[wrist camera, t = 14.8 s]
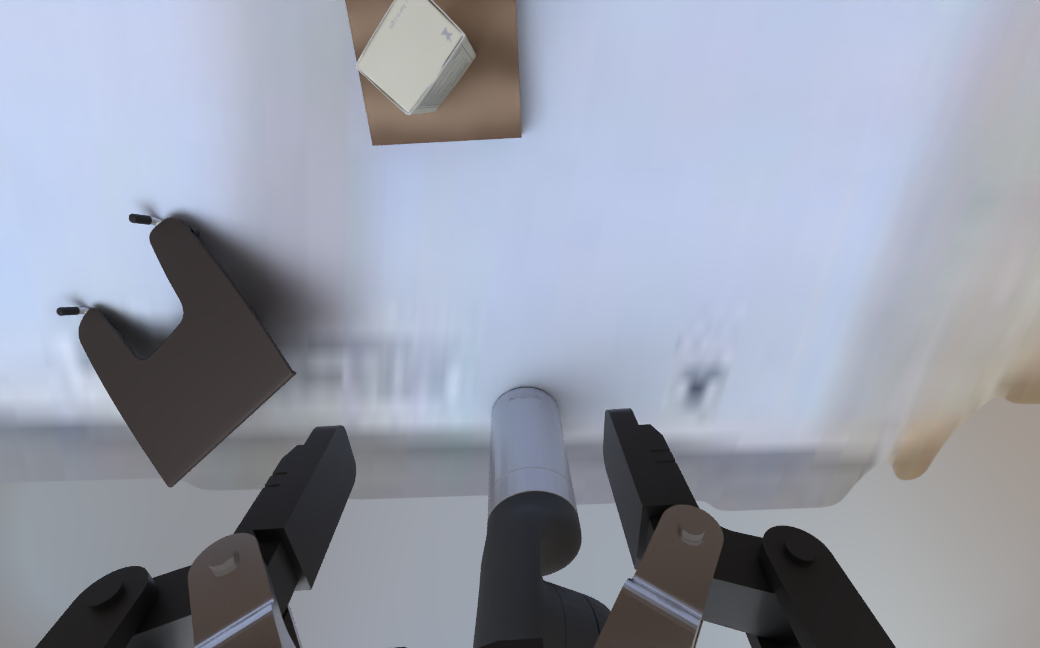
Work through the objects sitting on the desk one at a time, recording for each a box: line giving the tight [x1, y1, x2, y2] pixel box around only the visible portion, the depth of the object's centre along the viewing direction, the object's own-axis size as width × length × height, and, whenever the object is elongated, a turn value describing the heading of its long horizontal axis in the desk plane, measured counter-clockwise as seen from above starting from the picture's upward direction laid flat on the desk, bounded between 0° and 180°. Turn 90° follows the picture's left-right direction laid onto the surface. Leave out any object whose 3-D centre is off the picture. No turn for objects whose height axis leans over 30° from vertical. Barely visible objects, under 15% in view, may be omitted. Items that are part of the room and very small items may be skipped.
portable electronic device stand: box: [57, 214, 296, 487], centre depth 48 cm, size 23×23×9 cm
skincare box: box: [355, 0, 476, 115], centre depth 31 cm, size 6×4×12 cm
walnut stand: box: [345, 0, 522, 145], centre depth 38 cm, size 12×14×3 cm
